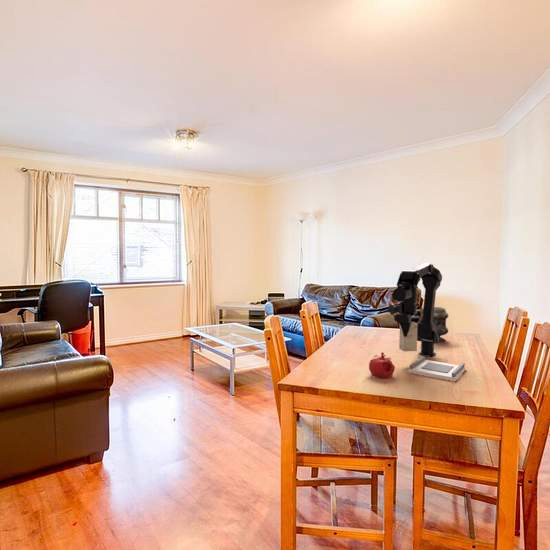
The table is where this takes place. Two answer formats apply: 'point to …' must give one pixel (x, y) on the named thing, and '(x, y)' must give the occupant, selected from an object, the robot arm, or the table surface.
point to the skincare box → (409, 339)
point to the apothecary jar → (440, 322)
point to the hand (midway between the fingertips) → (408, 335)
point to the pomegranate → (381, 366)
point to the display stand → (437, 369)
